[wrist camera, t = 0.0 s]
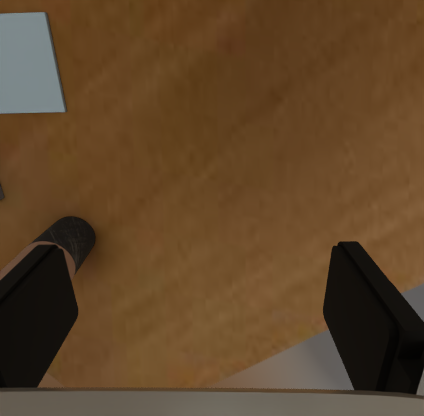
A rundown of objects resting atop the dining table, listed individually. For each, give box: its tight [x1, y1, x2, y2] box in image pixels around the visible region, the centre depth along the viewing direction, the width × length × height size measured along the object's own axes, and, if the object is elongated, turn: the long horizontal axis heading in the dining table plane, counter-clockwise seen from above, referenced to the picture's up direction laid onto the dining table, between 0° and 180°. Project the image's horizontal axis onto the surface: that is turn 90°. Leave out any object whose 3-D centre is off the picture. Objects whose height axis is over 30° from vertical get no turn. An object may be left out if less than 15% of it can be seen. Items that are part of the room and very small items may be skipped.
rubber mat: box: [0, 12, 67, 113], centre depth 42 cm, size 12×12×1 cm
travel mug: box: [0, 217, 95, 280], centre depth 43 cm, size 8×8×20 cm
